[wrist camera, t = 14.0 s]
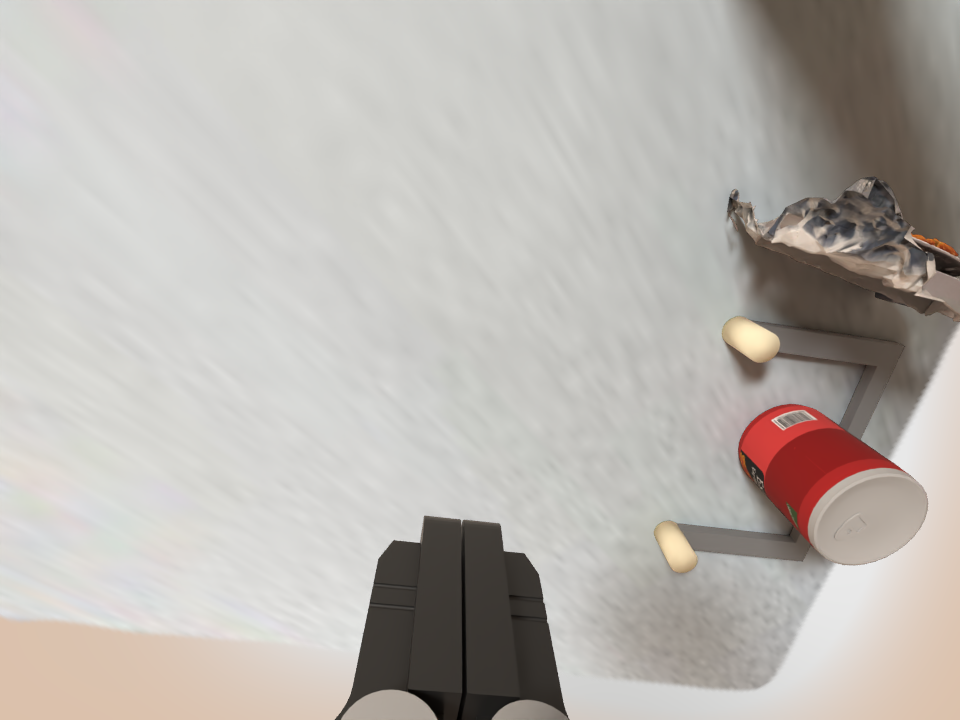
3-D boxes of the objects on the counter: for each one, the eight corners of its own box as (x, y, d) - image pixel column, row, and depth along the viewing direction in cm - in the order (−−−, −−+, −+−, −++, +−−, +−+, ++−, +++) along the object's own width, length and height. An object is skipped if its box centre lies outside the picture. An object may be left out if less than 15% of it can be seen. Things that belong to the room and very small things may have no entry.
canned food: (717, 456, 46) (790, 541, 36) (777, 385, 44) (874, 453, 34) (780, 492, 48) (868, 582, 38) (842, 425, 46) (953, 502, 35)
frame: (727, 314, 42) (753, 329, 38) (896, 339, 43) (937, 356, 39) (650, 540, 49) (666, 571, 46) (795, 555, 51) (822, 587, 47)
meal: (904, 246, 40) (1098, 284, 28) (869, 297, 42) (1040, 354, 29) (739, 169, 38) (874, 173, 25) (709, 226, 39) (823, 256, 27)
